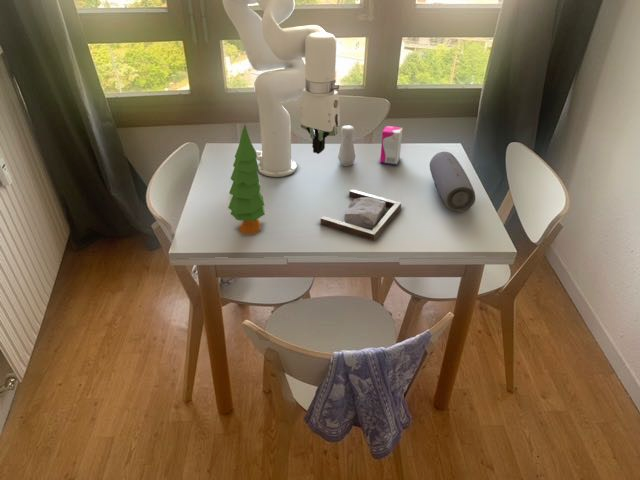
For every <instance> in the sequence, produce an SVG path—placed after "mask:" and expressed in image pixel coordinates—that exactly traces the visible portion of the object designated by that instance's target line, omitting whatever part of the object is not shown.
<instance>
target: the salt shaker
mask: <svg viewBox="0 0 640 480" xmlns="http://www.w3.org/2000/svg"><path fill="white" fill-rule="evenodd" d="M340 129H341V130H340V133H341V135H342V137H341V141H340V146H339V151H338V156H337V159H338V162H339V164H340V165H341V166H343V167H351V166H353V164H354V162H355V160H356V151H355V145H354V138H353V136H354V134H355V128H354V126H352V125H343V126H341V128H340Z"/></svg>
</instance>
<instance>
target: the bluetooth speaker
mask: <svg viewBox="0 0 640 480" xmlns="http://www.w3.org/2000/svg"><path fill="white" fill-rule="evenodd" d="M429 171H430V174H431V178H432V180H433V183H434V186H435V188H436V190H437V192H438V194H439V197H440V198H441V200H442V201H443V203H444V204H445V206H446V208H447V209H448V210H450V211H451V212H454V213H462V212H466V211H468V210H469V209H471V208H472V207H473V206H474V204H475V202H476V193H475V189H474V187H473V185H472V182H471V181H470V178H469V177H468V175H467V173H466V172H465V170H464V168H463V166H462V165H461V163H460V161H459V160H458V159H457V157H456V156H454V154H453V153H451V152H449V151H440V152H437V153H436V154H434V155H433V157H431V159H430V161H429Z"/></svg>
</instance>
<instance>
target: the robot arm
mask: <svg viewBox="0 0 640 480" xmlns="http://www.w3.org/2000/svg"><path fill="white" fill-rule="evenodd" d="M221 1H222V6H223V9H224V11H225V13H226V15H227V16H228V18H229V20H230V21H231V23H232V24H233V26H234V28H235V29H236V31H237V33H238V37H239V39H240V41H241V44H242V47H243V49H244V52H245V55H246V58H247V60H248V62H249V65H250V66H251V68H252V69H253V70H255V71H257V72H258V71H259V72H262V73H259V74H258V75H257V76H256V77H255V79H254V81H253V87H254V88H253V89H254V94H255V98H256V102H257V107H258V108H257V109H258V116H259V117H258V118H259V129H260V144H261V145H260V146H261V150H255V151H256V154H257V157H256V160H257V161H259V163H258V168H259V170H258V172H259V173H260V174H262V175H263V176H266V177H271V178H281V177H287V176H290V175H292V174H293V173H295V172H296V170H297V163H296V162H295V161H294V160H292V133H291V132H292V131H291V129H292V128H291V127H292V126H291V116H290V113H289V111H288V110H287V109H286V108H285V107H284V105H283V104H284V103H288V102H289V103H290V102H293V101H299V100H300V104H299V105H300V107H299V122H300V127H301V129H303V130H306V131H307V132H308V134H309V135H310V138H311V140H312V143H311V145H312V146H311V147H312V153H314V154H317V155H319V154H321V153H322V152H323V151H325V148H326V138H328V137H335V136H337V135H338V133H339V132H338V127H340V125H341V108H340V107H341V105H340V99H339V98H340V97H339V93H338V91H339V89H340V84H338V83H336V63H337V62H336V61H337V59H336V58H337V38H336V37H335V35H334V34H332V33H330V32H326V30H324V28H322V26H319V25H317V24H310V25H308V24H307V25H299V26H290V27H284V28H283V27H281V26H280V24H282V23H283V22H285V21H286V20H287V19H289V17H290V16H291V15H292V13H293V12H294V10H295V0H221ZM257 5H258V6H259V7H260V9H261V10H262V11H263V16H262V17H261V16H260V14H258V12H255V10H253V9H252V8H250V6H257Z"/></svg>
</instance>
